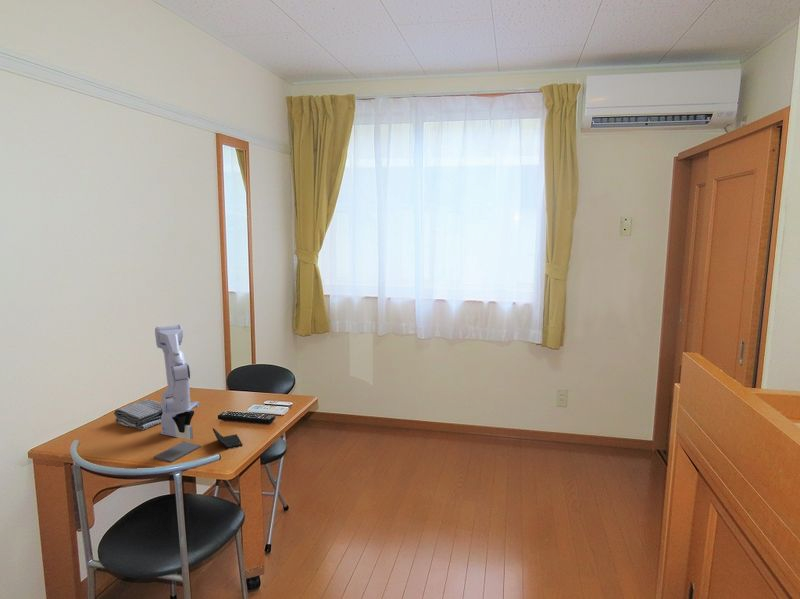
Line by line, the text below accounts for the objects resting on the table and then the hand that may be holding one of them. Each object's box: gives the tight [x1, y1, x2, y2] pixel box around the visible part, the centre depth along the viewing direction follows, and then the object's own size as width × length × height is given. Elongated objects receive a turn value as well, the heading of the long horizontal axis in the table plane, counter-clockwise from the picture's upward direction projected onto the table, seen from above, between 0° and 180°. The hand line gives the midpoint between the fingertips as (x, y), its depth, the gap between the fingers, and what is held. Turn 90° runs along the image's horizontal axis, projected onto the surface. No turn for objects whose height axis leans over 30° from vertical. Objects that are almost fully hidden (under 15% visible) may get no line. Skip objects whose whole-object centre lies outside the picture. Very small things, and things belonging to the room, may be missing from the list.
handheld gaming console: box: [212, 427, 243, 450], centre depth 196 cm, size 12×7×10 cm
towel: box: [114, 398, 163, 431], centre depth 218 cm, size 15×18×8 cm
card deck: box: [175, 424, 194, 441], centre depth 191 cm, size 7×2×5 cm, turn 67°
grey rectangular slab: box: [152, 441, 202, 463], centre depth 189 cm, size 9×14×1 cm, turn 157°
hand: (183, 431), depth 191 cm, fingers closed on card deck, 2 cm apart
